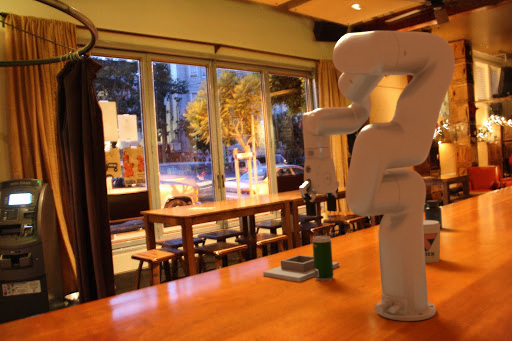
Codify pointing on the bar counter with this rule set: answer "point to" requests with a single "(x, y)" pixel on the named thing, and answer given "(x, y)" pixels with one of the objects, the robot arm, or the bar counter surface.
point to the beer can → (322, 258)
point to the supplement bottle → (433, 212)
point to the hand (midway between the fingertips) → (321, 213)
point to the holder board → (295, 268)
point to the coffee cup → (431, 240)
